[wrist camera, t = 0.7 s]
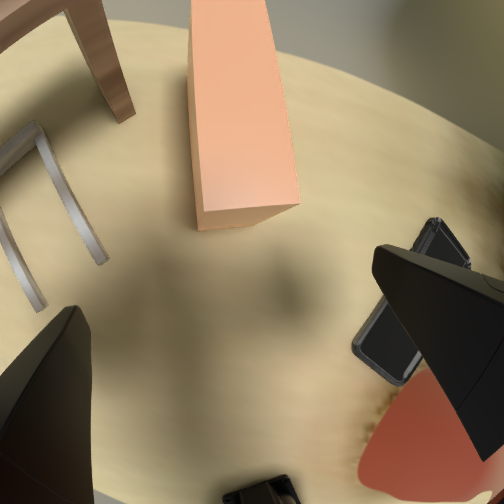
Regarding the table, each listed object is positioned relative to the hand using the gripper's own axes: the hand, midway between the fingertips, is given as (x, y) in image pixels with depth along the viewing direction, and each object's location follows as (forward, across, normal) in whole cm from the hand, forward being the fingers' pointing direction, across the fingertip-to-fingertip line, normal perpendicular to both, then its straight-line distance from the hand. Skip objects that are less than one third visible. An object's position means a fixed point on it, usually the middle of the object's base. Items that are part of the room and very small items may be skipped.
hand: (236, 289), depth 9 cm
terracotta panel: (+16, -2, -1) cm, 16 cm away
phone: (+9, -18, +13) cm, 24 cm away
